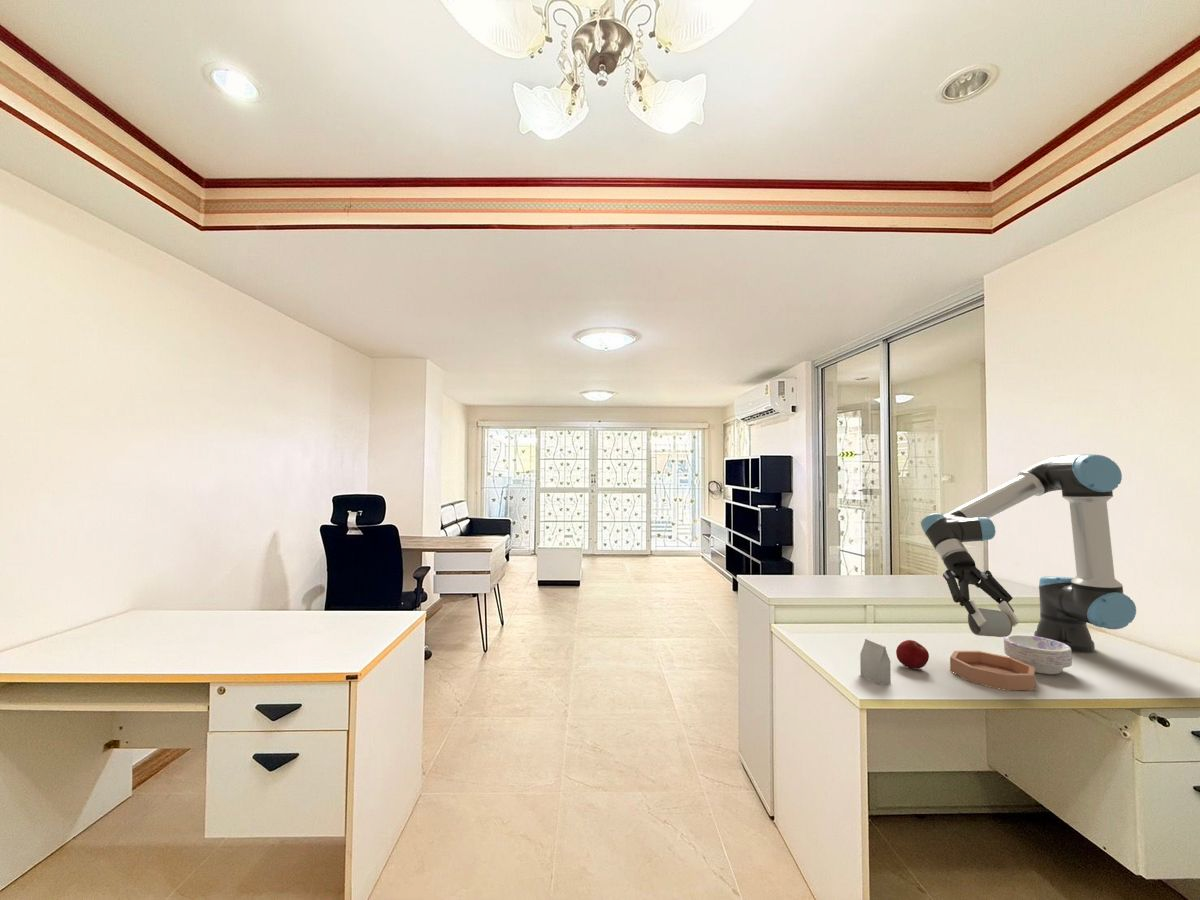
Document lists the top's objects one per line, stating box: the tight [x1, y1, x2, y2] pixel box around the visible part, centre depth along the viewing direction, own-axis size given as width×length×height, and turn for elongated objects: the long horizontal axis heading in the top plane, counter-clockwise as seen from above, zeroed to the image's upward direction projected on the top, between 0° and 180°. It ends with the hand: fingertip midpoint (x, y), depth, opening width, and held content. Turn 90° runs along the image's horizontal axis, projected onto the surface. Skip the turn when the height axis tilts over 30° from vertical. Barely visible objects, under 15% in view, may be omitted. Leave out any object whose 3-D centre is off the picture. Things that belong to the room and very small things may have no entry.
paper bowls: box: [1003, 634, 1073, 675], centre depth 148 cm, size 15×15×8 cm
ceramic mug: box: [967, 607, 1013, 638], centre depth 143 cm, size 11×8×8 cm
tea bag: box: [859, 638, 892, 686], centre depth 138 cm, size 4×7×10 cm, turn 15°
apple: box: [895, 639, 930, 670], centre depth 146 cm, size 8×8×8 cm
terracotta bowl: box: [949, 650, 1036, 691], centre depth 141 cm, size 18×18×4 cm
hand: (999, 624), depth 138 cm, fingers closed on ceramic mug, 9 cm apart
